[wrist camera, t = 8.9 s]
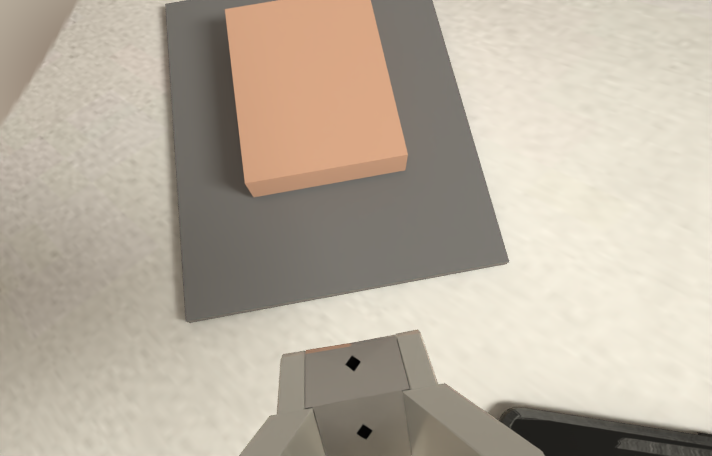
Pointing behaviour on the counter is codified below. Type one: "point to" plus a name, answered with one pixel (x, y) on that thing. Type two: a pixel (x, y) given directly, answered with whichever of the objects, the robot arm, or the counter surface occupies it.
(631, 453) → the phone
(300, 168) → the tile
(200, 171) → the mat
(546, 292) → the counter surface
